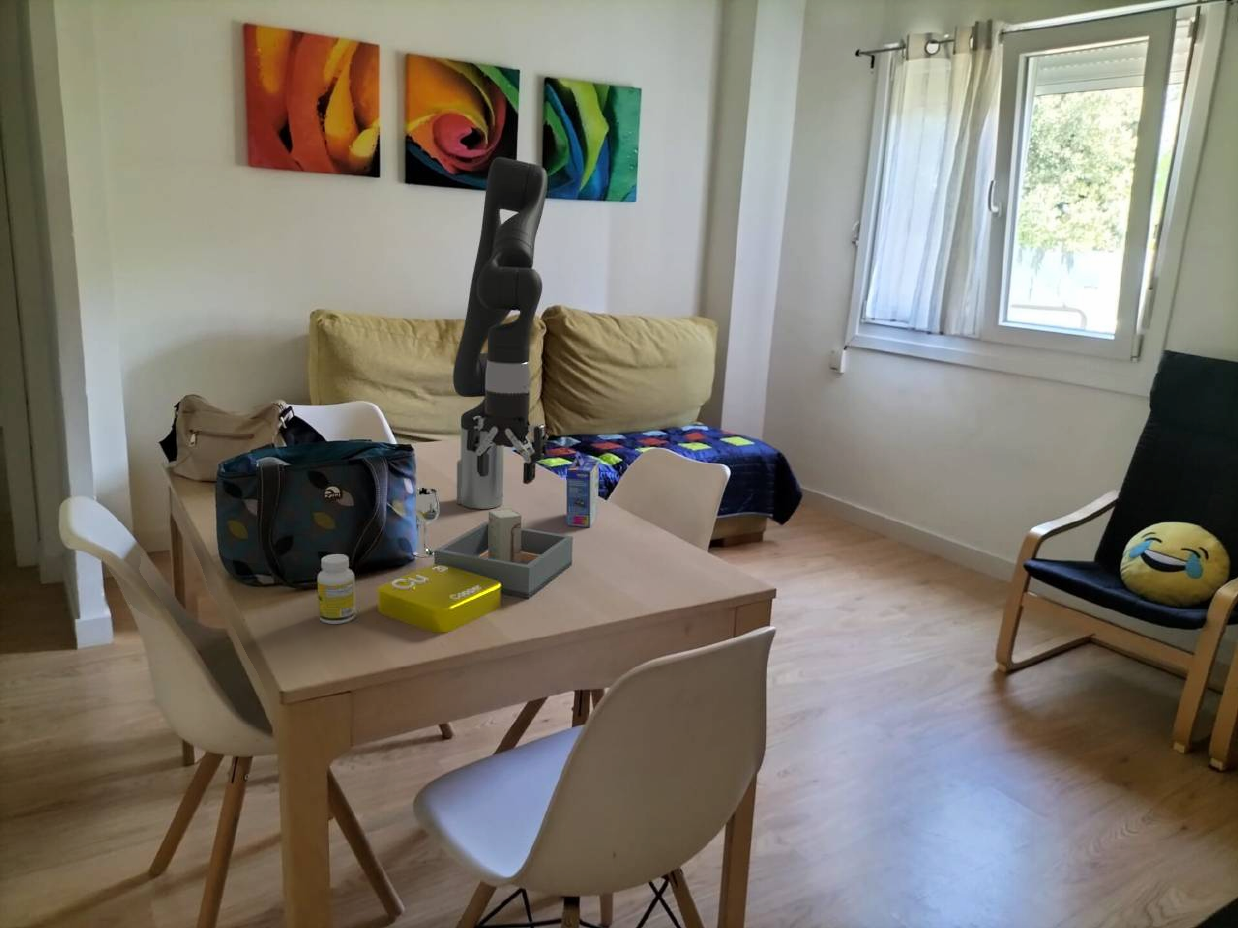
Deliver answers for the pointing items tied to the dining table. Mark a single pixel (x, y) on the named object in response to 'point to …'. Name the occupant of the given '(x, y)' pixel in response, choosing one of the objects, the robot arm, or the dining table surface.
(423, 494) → the wineglass
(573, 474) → the ink cartridge box
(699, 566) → the dining table surface
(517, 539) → the skincare box
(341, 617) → the supplement bottle
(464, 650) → the dining table surface
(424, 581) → the element tile
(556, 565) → the box
